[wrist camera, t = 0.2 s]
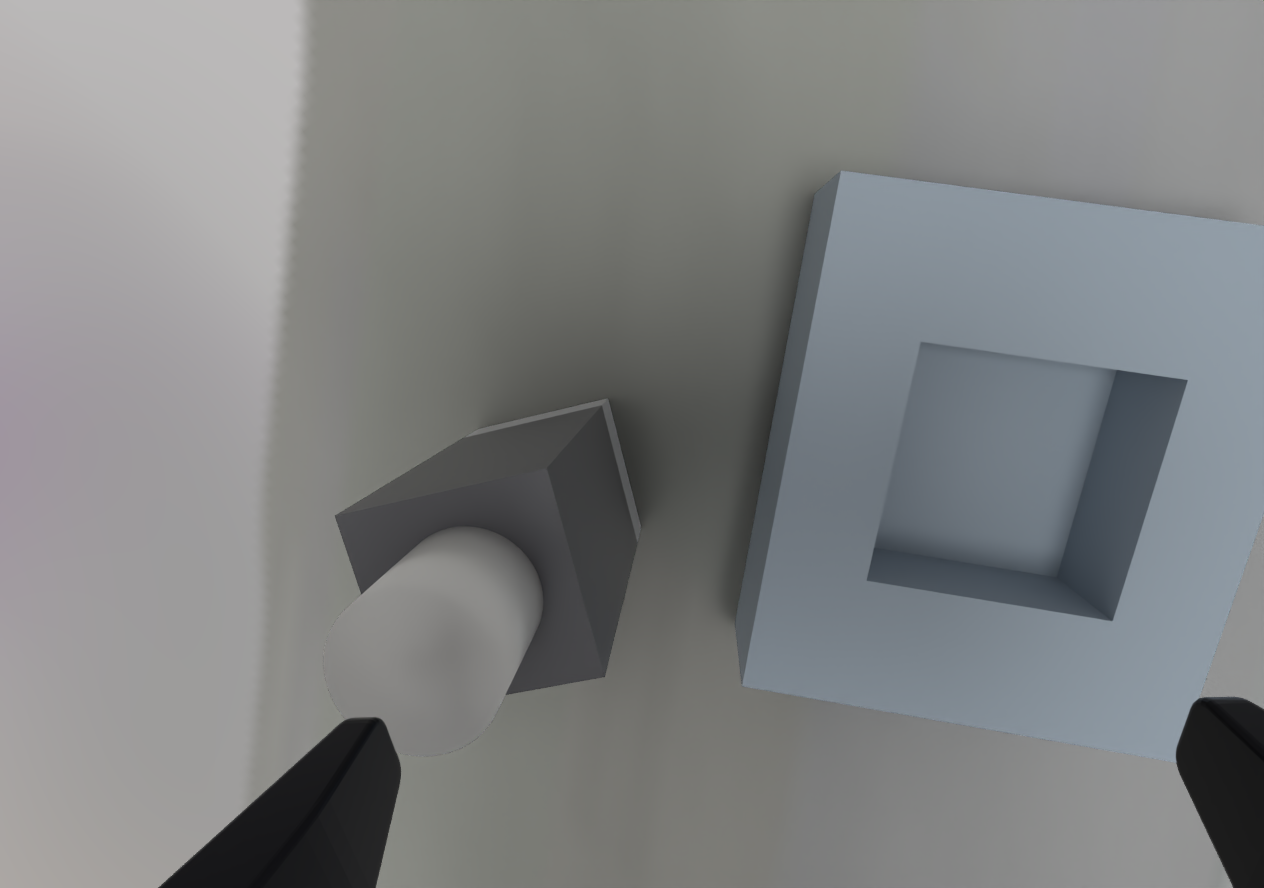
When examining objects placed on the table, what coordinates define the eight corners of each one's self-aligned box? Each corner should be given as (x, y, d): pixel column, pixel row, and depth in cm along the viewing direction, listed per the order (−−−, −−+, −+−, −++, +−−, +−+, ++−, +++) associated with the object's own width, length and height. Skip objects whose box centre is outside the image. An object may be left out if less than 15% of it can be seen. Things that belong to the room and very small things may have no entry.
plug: (641, 527, 24) (581, 773, 12) (514, 554, 24) (330, 813, 12) (607, 398, 23) (505, 514, 11) (477, 429, 24) (241, 573, 11)
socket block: (1096, 684, 23) (1176, 762, 19) (734, 623, 24) (741, 686, 20) (1233, 249, 20) (1360, 238, 16) (814, 193, 21) (840, 170, 17)
